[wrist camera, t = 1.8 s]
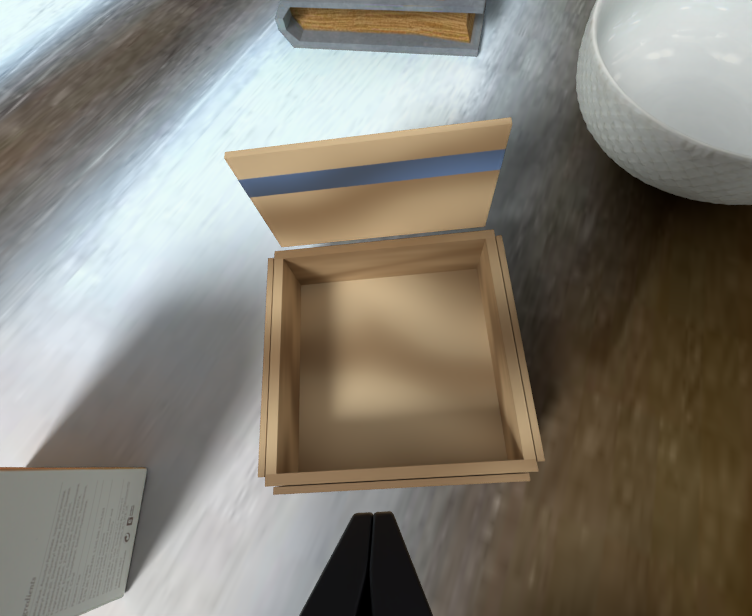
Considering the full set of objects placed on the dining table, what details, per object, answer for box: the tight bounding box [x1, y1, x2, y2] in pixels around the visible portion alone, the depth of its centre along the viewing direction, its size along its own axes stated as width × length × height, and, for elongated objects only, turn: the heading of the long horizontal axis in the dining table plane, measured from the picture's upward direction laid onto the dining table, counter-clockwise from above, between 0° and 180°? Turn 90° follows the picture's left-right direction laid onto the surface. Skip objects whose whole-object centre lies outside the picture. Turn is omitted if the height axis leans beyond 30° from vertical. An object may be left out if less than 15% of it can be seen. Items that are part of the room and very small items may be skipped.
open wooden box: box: [258, 229, 545, 495], centre depth 22 cm, size 12×13×4 cm
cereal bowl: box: [576, 0, 752, 205], centre depth 24 cm, size 17×17×7 cm
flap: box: [224, 117, 512, 247], centre depth 19 cm, size 7×11×1 cm
